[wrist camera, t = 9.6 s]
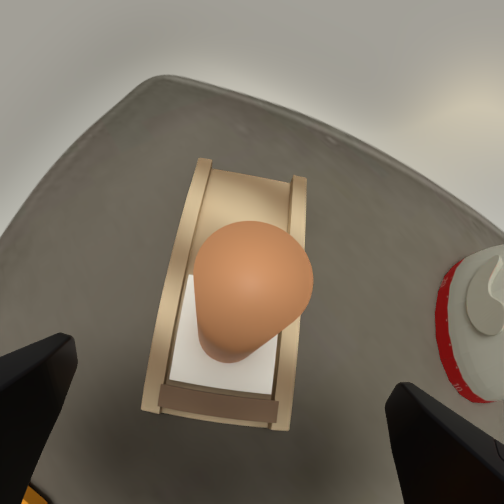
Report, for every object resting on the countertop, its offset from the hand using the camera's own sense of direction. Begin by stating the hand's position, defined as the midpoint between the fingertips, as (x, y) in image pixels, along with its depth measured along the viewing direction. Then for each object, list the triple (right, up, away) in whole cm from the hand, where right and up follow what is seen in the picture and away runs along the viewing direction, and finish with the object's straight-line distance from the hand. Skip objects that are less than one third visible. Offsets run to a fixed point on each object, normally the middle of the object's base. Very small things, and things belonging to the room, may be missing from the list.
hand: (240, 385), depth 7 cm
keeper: (-1, -1, +10) cm, 10 cm away
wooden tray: (-1, +1, +12) cm, 13 cm away
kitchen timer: (+22, -4, +14) cm, 26 cm away
